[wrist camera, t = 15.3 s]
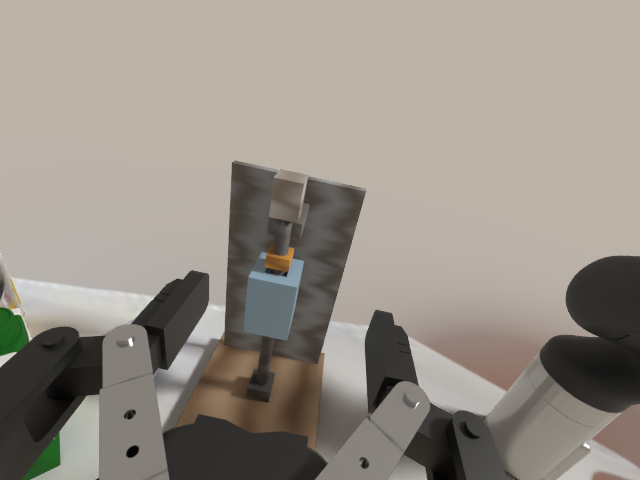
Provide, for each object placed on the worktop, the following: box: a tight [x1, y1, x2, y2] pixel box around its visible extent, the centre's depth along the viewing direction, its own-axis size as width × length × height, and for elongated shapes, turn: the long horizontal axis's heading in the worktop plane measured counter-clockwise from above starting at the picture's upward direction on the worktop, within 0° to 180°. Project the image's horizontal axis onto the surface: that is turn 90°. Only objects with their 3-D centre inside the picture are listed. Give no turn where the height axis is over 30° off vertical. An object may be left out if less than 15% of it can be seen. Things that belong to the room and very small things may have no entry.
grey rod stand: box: [176, 161, 366, 450], centre depth 37 cm, size 18×16×35 cm
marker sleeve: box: [243, 252, 304, 341], centre depth 35 cm, size 5×5×8 cm
